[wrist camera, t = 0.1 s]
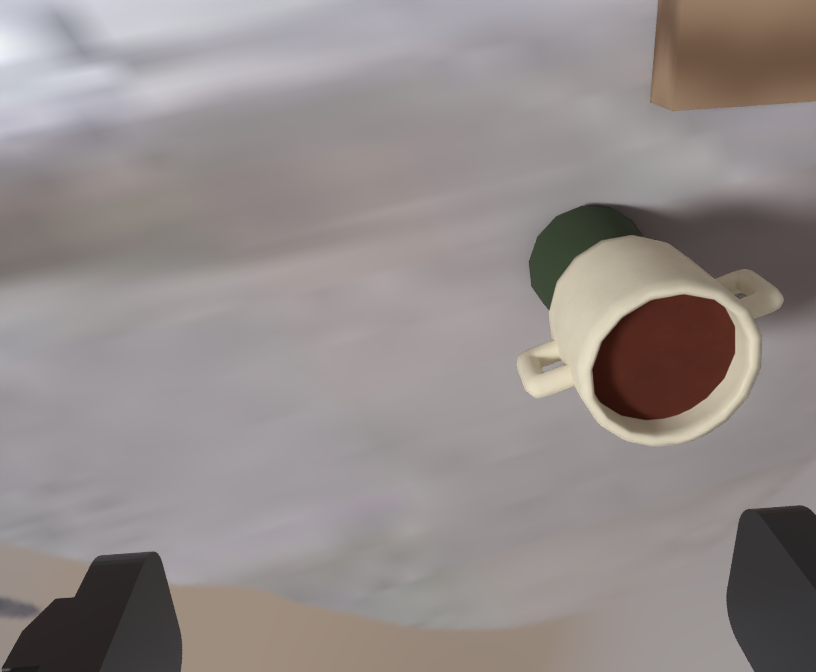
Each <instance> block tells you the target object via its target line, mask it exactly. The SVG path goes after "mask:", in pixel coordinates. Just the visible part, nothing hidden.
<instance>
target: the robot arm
mask: <svg viewBox="0 0 816 672" xmlns="http://www.w3.org/2000/svg"><path fill="white" fill-rule="evenodd" d="M727 610H728V616H729V620H730V624H731V627H732V630H733V633H734V635H735V637H736V639H737V641H738V643H739V645H740V647H741V649H742V650H743V652H744V654H745V656H746V658H747V659H748V661H749V663H750V664H751V666H752V668H753V670H754V672H816V515H815V514H814V513H813V512H812V511H811V510H810V509H809V508H807V507H805V506H800V505H798V506H785V507H772V508H758V509H748V510H745V511H744V512H743V513H742V514H741V517H740V519H739V524H738V530H737V535H736V541H735V547H734V553H733V559H732V564H731V571H730V576H729V582H728V587H727ZM181 664H182V639H181V633H180V628H179V624H178V620H177V617H176V613H175V609H174V605H173V601H172V598H171V594H170V590H169V586H168V582H167V579H166V575H165V571H164V567H163V564H162V561H161V558H160V556H159V555H158V553H156V552H141V553H127V554H114V555H101V556H98V557H97V558H95V559H94V561H93V562H92V564H91V565H90V567H89V569H88V571H87V573H86V575H85V577H84V579H83V581H82V583H81V585H80V587H79V589H78V591H77V593H76V595H75V597H72V598H59V599H55V600H54V601H53V602H52V603H51V604H50V605H49V606H48V607H47V608H46V609H45V610H44V611H42V612H41V613H40V614H39V615H38V616H37V617H36V618H35V619H34V620H33V621H32V622H31V623H30V624H29V625H28V626H27V627H26V628H25V629H24V630H23V631H22V633H21V635H20V636H19V638H18V640H17V642H16V643H15V645H14V647H13V649H12V651H11V652H10V654H9V656H8V658H7V660H6V662H5V663H4V665H3V667H2V672H181Z"/></svg>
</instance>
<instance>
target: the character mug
mask: <svg viewBox="0 0 816 672" xmlns="http://www.w3.org/2000/svg"><path fill="white" fill-rule="evenodd" d="M529 268H530V277H531V286H532V288H533V289H534V291H535V292H536V294H537V295H538V296H539V298H540V299H541V301H542V302H543V304H544V305H545V306H546V307H547V308H548V310H549V320H550V328H551V336H552V341H550V342H547V343H545V344H542V345H539V346H537V347H534V348H532V349H529V350H526V351H525V352H523V353H521V354H520V355H519V356H518V361H517V369H518V372H519V374H520V377H521V380H522V382H523V385H524V387H525V390H526V391H527V392H529V393H530V394H531V395H532V396H534V397H535V398H541V397H546V396H549V395H552V394H554V393H557V392H560V391H562V390H565V389H568V388H571V387H573V386H575V387H576V389H577V391H578V393H579V395H580V397H581V398H582V400H583V401H584V403H585V404H586V406H587V407H588V409H589V410H590V412H591V413H592V415H593V416H594V418H595V419H596V421H597V422H598V423H599V424H600V425H601V426H602V427H604V428H606V429H607V430H609V431H610V432H612V433H614V434H615V435H617V436H619V437H620V438H622V439H623V440H625V441H629V442H633V443H638V444H643V445H648V446H653V447H656V446H669V445H678V444H682V443H686V442H690V441H693V440H695V439H697V438H700V437H702V436H704V435H706V434H708V433H710V432H711V431H713V430H714V429H716V428H717V427H719V426H720V425H721V424H723V423H724V422H726V421H727V420H728V419H729V418H730V417H731V416H732V415H733V413H734V412H735V411H736V410H737V409H738V408H739V407H740V406H741V404H742V403H743V402H744V401H745V400H746V399H747V398H748V396H749V394H750V391H751V389H752V387H753V384H754V382H755V380H756V378H757V375H758V373H759V371H760V368H761V353H762V335H761V333H760V331H759V329H758V327H757V325H756V323H755V321H754V319H757V318H759V317H762V316H765V315H767V314H770V313H773V312H774V311H776V310H778V309H779V308H781V306H782V304H783V301H784V298H783V296H782V294H781V292H780V291H779V290H778V289H777V288H776V287H775V286H774V285H772V284H771V283H769V282H768V281H767V280H765V279H764V278H762V277H761V276H760V275H758V274H757V273H755V272H754V271H752V270H748V269H742V270H738V271H734V272H731V273H729V274H726V275H723V276H721V277H718V278H715V279H714V278H713V277H712V276H710V275H709V274H708V273H707V272H706V271H704V270H703V269H702V268H701V267H700V266H698V265H697V264H696V263H695V262H693V261H692V260H691V259H690V258H688V257H687V256H685V255H684V254H683V253H681V252H680V251H678V250H677V249H675V248H674V247H673V246H671V245H670V244H668V243H666V242H662V241H658V240H653V239H648V238H644V237H643V236H642V234H641V232H640V231H639V230H638V228H637V227H636V226H635V224H634V223H633V221H631V220H630V219H628V218H626V217H625V216H623V215H621V214H620V213H618V212H616V211H614V210H613V209H611V208H607V207H592V206H581V207H578V208H576V209H573V210H571V211H568V212H566V213H563V214H561V215H558V216H556V217H555V218H554V220H553V221H552V222H551V223H550V224H549V225H548V226H547V227H546V228H545V229H544V230H543V231H542V232H541V233H540V235H539V236H538V237H537V240H536V243H535V246H534V249H533V251H532V254H531V257H530V260H529ZM739 293H743V294H745V295H746V297H744V298H741V299H738V298H737V297H736V296H735V295H736V294H739ZM561 360H562V362H563V364H564V365H563V366H560V367H557V368H555V369H552V370H549V371H547V372H543V371H542V369H541V368H542V367H545V366H547V365H550V364H553V363H555V362H558V361H561Z"/></svg>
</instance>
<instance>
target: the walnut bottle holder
mask: <svg viewBox="0 0 816 672" xmlns="http://www.w3.org/2000/svg"><path fill="white" fill-rule="evenodd" d="M811 101H816V0H658V12H657V25H656V37H655V49H654V62H653V74H652V87H651V99H650V103H653V104H656V105H658V106H661V107H664V108H667V109H669V110H672V111H678V110H693V109H708V108H722V107H737V106H752V105H767V104H782V103H797V102H811Z"/></svg>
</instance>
